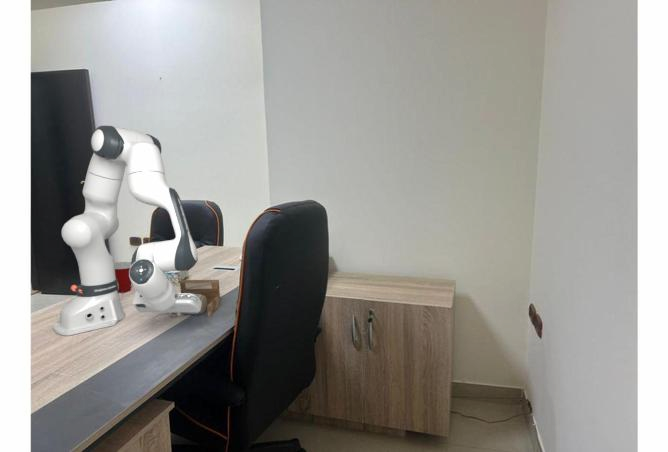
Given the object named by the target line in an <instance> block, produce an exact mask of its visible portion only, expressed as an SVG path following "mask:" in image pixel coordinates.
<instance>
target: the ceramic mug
mask: <svg viewBox="0 0 668 452" xmlns="http://www.w3.org/2000/svg"><path fill="white" fill-rule="evenodd" d="M190 294H191V293H190ZM194 295H195V296H197V297H198V298H199V299H200V300H201V302H202V306H201V310H200V311H199V312H198V313H181V315H203V314H204V313H205V312H206V310H207V299H206V297H205V296H204V295H201V294H194Z"/></svg>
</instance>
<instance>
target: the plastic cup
mask: <svg viewBox="0 0 668 452" xmlns="http://www.w3.org/2000/svg"><path fill="white" fill-rule="evenodd" d="M114 267H115V276H116V278H117V281H118V286H119V293H118V294H122V293H123V294H124V293H127V292H130V291H131V289H132V282H131V280H130V277H129V270H130V267H131V261H117V262H116V261H114Z"/></svg>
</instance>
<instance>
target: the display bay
mask: <svg viewBox="0 0 668 452" xmlns="http://www.w3.org/2000/svg"><path fill="white" fill-rule="evenodd" d="M179 287H180V288H179V289H180V293H191V294H201V295H204V296H205V297H206V299H207V307H206V310H207V317H209V318H210V317H212V315H213V314H214V313H215V312H216V310H218V308H220V307H221V295H220V294H221V292H220V290H221V289H220V280H219V279H181V280H179ZM169 317H170V318H173V317H174V316H171V315H170V314H169Z"/></svg>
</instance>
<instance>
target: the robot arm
mask: <svg viewBox="0 0 668 452" xmlns="http://www.w3.org/2000/svg"><path fill="white" fill-rule="evenodd" d="M90 147H91V150H92V152H93V154H92V156H91V158H90V161H89V165H88V167H87V171H86V176H85V179H84V185H83V188H82V195H83V197H84V201H85V202H84V204H85V207H84V212H83V213H81V214H78V215H75V216H73V217H71V218H70V219H69V220H67V221H66V222H65V223H64V224H63V226H62V228H61V237H62V239H63V242H65V244H67V246H70V248H71V250H72V252H73V253H74V256H75V258H76V261H77V265H78V271H79V278H80V284H78V285H76V284H73V285H71V286H70V290H71V291H72V292H75V296H74V297H73V298H72V299H71V300H70V301H69V302H68V303H67V304H66V305H64V307H62V308H61V310H60V314H59V321H58V322H54V324H53V325H52V327H53V332H55V333H56V334H58V335H61V336H72V335H76V334H82V333H86V332H91V331H94V330H99V329H103V328H107V327H112V326H115V325H117V324H118V322H120V321H121V320H123V319H124V318H125V316H126V313H125V312H124V309H123V306H122V302H121V300H120V296H119V294H120V293H119V286H118V281H117V278H116V276H115V267H114V263H115V260H114V257H113V256H112V255H111V254H110V252H109V251H108V248H107V246H106V241H105V240H107V239H109V238H111V237H112V236H113V235H114V234H115V233H116V232H117V231H118V229H119V226H120V221H119V220H120V219H119V217H118V202H119V195H120V191H121V189H122V188H121V187H122V185H123V184H122V183H123V180H124V175H125V171H126V175H127V176H126V177H127V178H126V179H127V186H128V191H129V193H130V195H131V196H132V197H133V198H134V199H135V200H136V201H138V202H140V203H142V204H145V205H149V206H152V207H153V206H154V207H158V208H162V209H164V210H166V211H167V213H168V214H169V218H170V220H171V225H172V227H173V231H174V236H175V237H174V238H172V239H170V240H162V241H154V242H153V241H151V242H147V243H141V244H140V245H138V246H137V247H136V249H135V250H134V252H133V254H132V257H131V261H130V262H131V267H130V270H129V277H130V280H131V282H132V283H131V285H132V286H133V288H134V289H135V293H134V296H133V299H132V304H131V305H132V306H133V307H134V308H135V309H136V310H137V311H138V312H140V313H160V314H161V313H166V314H168V315H169V316H170V315H171V316H173V317H180V316H181V315H182V314H181V313H198V312H199V311H200V310H201V306H202V302H201V300H200V299H199V298H198V297H197V296H195V295H194V294H190V293H181V292H180V293H178V290H177V288H176V287H175V286H174V285H173V283H172V282H171V281H170V280H169V279H168V277H167V275H166V274H165V273H169V272H170V273H171V272H176V271H177V272H182V271H183V272H184V271H190V270H191V269H192V268H193V267H194V266H195V265H196V264H197V262H198V261H199V251H198V249H197V246H196V243H195V242H194V238H193V237H192V234H191V230H190V226H189V223H188V220H187V216H186V213H185V209H184V206H183V202H182V200H181V197H180V196H179V194H178V191H176V189H175V188H172V187H170V186H169V184H168V182H167V179H166V172H165V167H164V166H165V165H164V162H163V157H162V145H161V142H160V140H159V139H158V138H156V137H155V136H153V135H151V134H148V133H144V132H141V131H137V130H135V129H128V128H122V127H115V126H113V125H100V126H97V127H96V128H95V130H94V131H93V132H92V134H91V137H90Z"/></svg>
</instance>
